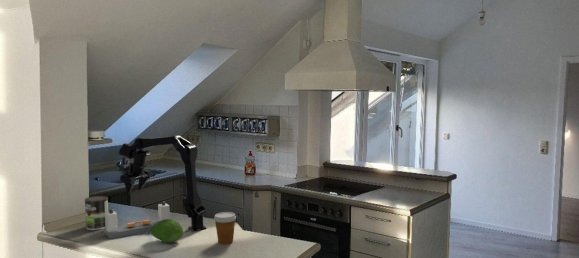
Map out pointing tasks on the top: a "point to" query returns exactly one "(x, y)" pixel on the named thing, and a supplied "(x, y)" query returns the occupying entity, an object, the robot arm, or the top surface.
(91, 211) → the coffee can
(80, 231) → the top surface
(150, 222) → the orange dumbbell
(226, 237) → the disposable coffee cup
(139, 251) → the top surface
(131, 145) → the robot arm
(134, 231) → the grey board
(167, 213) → the plug
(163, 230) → the fruit
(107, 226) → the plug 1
